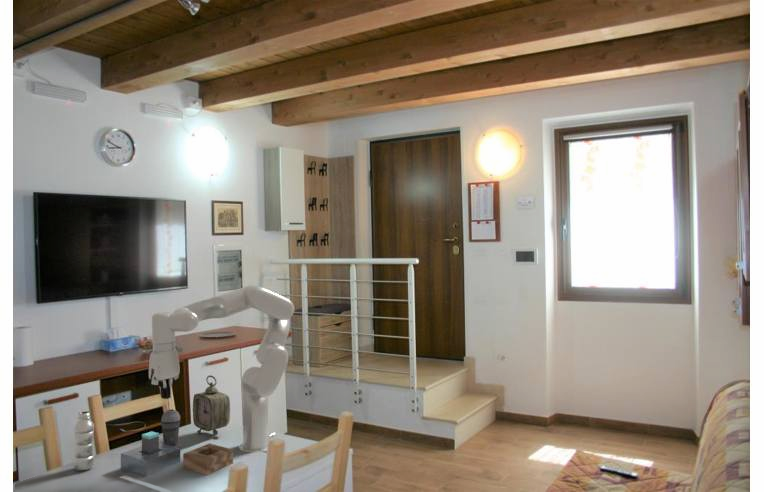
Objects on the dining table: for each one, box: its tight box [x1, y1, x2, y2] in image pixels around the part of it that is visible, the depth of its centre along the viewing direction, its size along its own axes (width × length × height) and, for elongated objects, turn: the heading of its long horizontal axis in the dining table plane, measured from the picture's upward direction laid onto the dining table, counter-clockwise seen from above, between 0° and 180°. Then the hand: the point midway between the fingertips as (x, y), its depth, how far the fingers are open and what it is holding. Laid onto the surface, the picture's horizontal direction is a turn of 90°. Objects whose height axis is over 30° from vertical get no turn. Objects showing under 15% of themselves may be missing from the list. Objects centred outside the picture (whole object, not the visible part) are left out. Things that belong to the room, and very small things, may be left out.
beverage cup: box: [160, 398, 182, 448], centre depth 217 cm, size 7×7×20 cm
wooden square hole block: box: [182, 443, 234, 476], centre depth 200 cm, size 12×12×6 cm
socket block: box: [120, 442, 181, 477], centre depth 200 cm, size 14×14×6 cm
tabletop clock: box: [192, 374, 231, 441], centre depth 234 cm, size 14×9×25 cm, turn 50°
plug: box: [141, 430, 160, 455], centre depth 200 cm, size 4×4×11 cm
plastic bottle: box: [73, 411, 95, 472], centre depth 198 cm, size 6×7×20 cm
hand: (165, 397), depth 201 cm, fingers closed
